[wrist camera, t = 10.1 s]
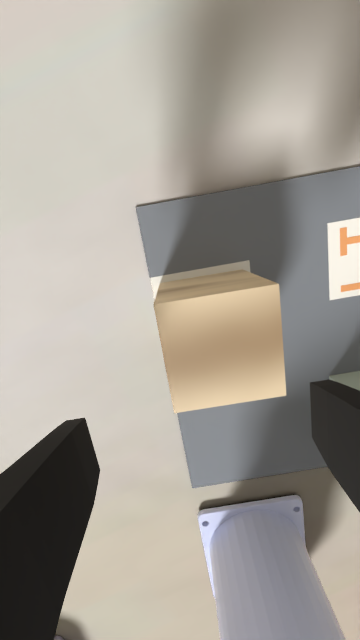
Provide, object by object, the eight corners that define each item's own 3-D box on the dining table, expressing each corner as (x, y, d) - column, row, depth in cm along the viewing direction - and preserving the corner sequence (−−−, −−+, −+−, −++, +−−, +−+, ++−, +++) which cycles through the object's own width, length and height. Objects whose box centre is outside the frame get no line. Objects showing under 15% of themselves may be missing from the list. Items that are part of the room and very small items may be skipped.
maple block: (250, 346, 18) (286, 395, 12) (173, 358, 18) (174, 413, 12) (242, 269, 17) (279, 283, 11) (159, 283, 17) (153, 304, 11)
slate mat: (418, 450, 21) (419, 452, 21) (192, 487, 21) (192, 488, 21) (438, 152, 15) (441, 151, 15) (135, 207, 16) (135, 207, 16)
